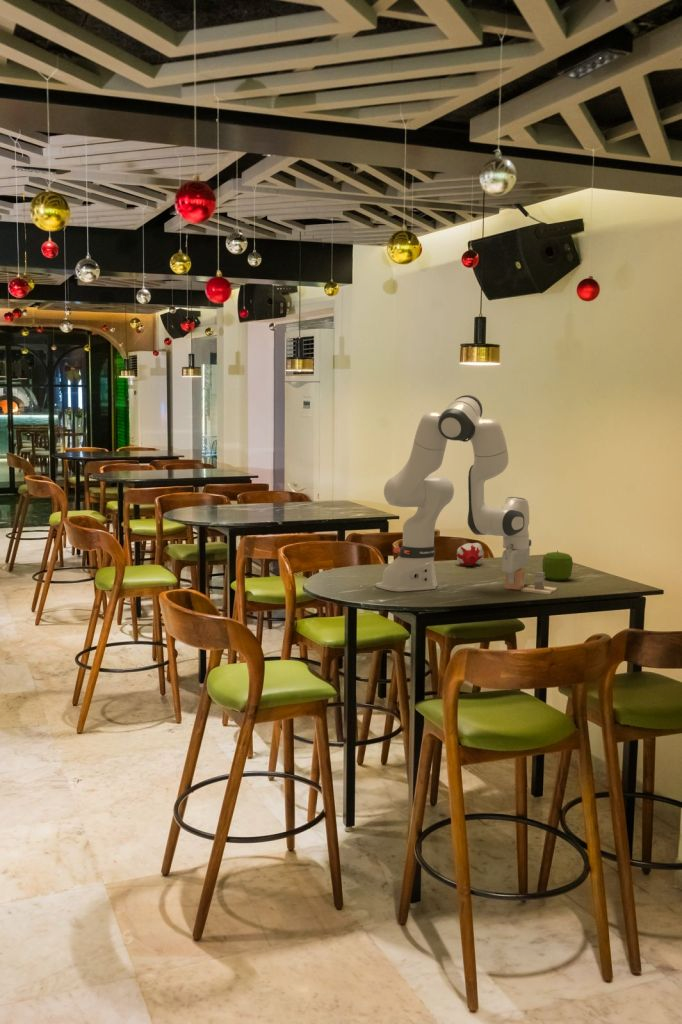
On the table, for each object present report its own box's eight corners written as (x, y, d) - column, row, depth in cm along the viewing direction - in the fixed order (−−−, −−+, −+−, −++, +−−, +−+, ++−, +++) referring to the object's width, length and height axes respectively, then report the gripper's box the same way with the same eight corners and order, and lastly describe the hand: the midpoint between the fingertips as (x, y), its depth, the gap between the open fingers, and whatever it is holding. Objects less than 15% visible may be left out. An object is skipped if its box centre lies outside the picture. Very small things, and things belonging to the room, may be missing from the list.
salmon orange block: (519, 589, 319) (520, 571, 319) (505, 588, 322) (505, 569, 321) (524, 587, 324) (524, 568, 323) (509, 586, 326) (510, 567, 326)
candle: (481, 561, 379) (486, 571, 364) (453, 560, 379) (457, 571, 364) (482, 540, 377) (487, 550, 362) (454, 539, 377) (458, 549, 362)
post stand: (549, 594, 312) (550, 575, 311) (520, 591, 316) (521, 573, 316) (557, 589, 320) (558, 571, 320) (529, 586, 325) (530, 569, 325)
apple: (576, 581, 336) (578, 552, 335) (549, 582, 334) (549, 552, 333) (564, 576, 347) (565, 548, 346) (537, 577, 345) (538, 548, 344)
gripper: (515, 547, 311) (514, 587, 312) (533, 540, 328) (531, 578, 330) (497, 545, 314) (496, 585, 315) (516, 539, 331) (514, 576, 333)
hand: (514, 581), depth 323 cm, fingers closed on salmon orange block, 5 cm apart
